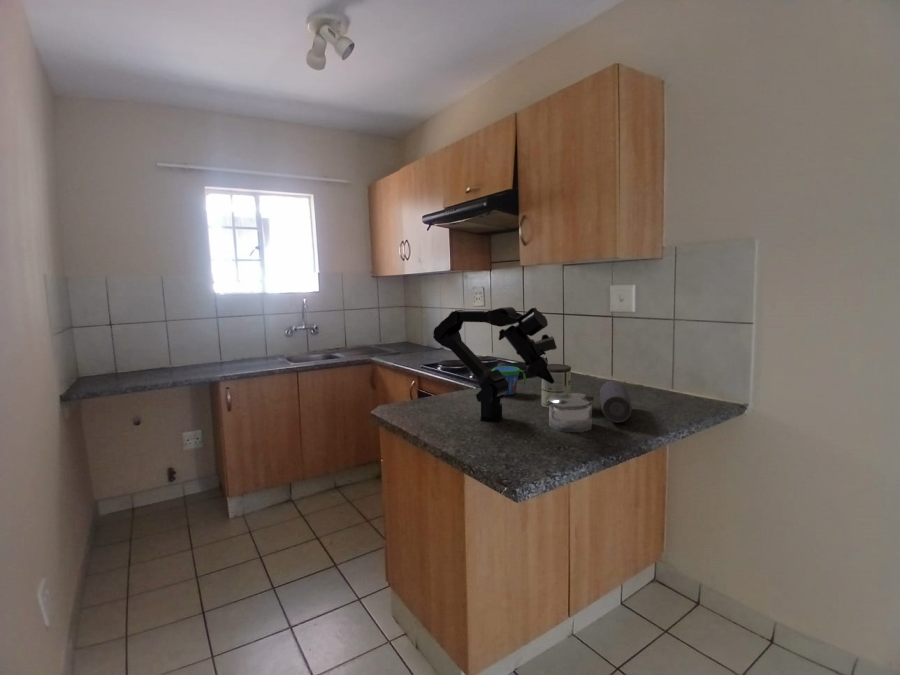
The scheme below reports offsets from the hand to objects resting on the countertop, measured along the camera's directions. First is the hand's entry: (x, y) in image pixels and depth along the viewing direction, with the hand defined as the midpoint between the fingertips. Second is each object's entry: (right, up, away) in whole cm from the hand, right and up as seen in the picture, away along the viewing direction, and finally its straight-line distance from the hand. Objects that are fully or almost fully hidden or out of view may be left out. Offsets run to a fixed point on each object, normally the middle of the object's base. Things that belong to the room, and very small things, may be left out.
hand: (553, 382), depth 135 cm
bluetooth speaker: (+22, -12, +9) cm, 27 cm away
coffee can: (+6, -11, +23) cm, 26 cm away
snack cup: (-9, -9, +41) cm, 43 cm away
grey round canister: (+5, -13, 0) cm, 14 cm away
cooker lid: (+5, -6, -1) cm, 8 cm away
